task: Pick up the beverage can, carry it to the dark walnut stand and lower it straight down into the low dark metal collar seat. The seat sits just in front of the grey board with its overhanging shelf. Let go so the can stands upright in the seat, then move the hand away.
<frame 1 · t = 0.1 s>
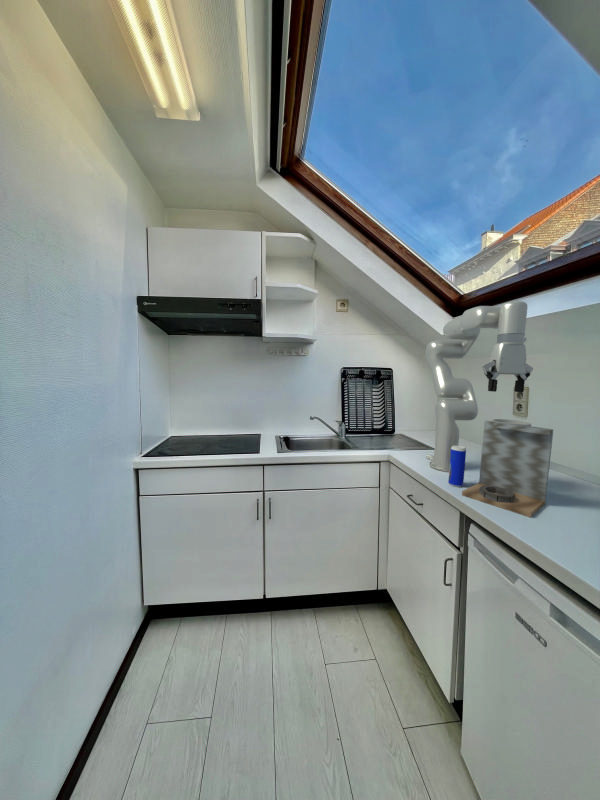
hand: (505, 391, 102), 37 cm above the countertop, tool pointing down, fingers open, 9 cm apart
cylinder vase: (504, 484, 119), on the countertop
seat stand: (502, 499, 104), on the countertop
beverage can: (455, 485, 117), on the countertop
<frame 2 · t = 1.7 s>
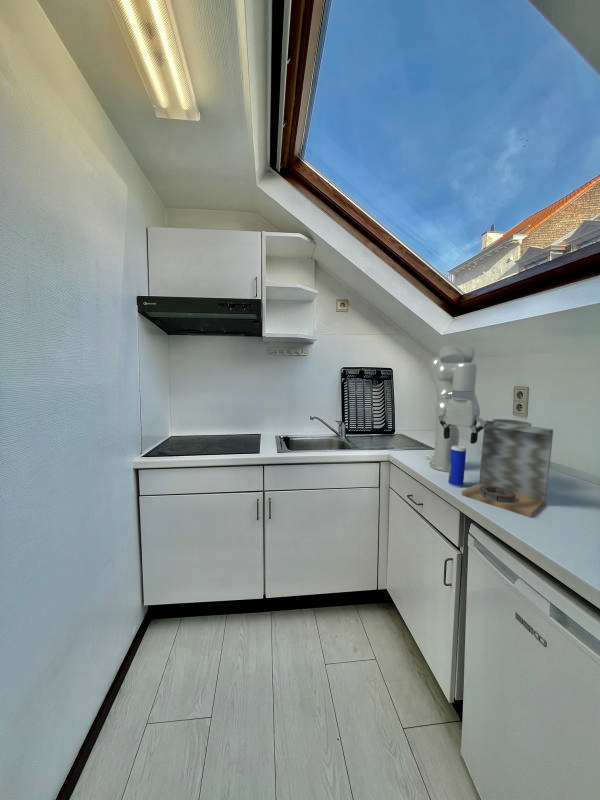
hand: (459, 440, 115), 17 cm above the countertop, tool pointing down, fingers open, 9 cm apart
nothing on the countertop moved.
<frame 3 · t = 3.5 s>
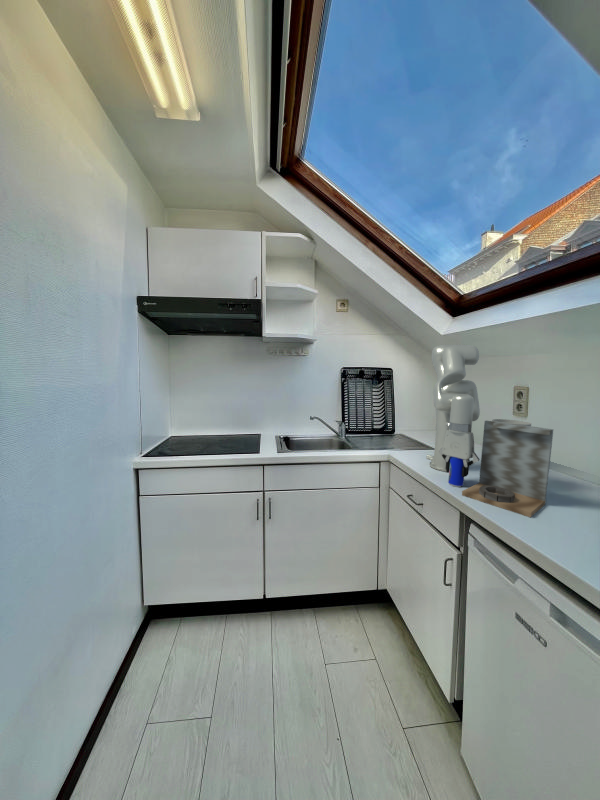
hand: (456, 473, 116), 4 cm above the countertop, tool pointing down, fingers closed on beverage can, 5 cm apart
beverage can: (455, 485, 117), on the countertop, touching gripper
everything else where it was.
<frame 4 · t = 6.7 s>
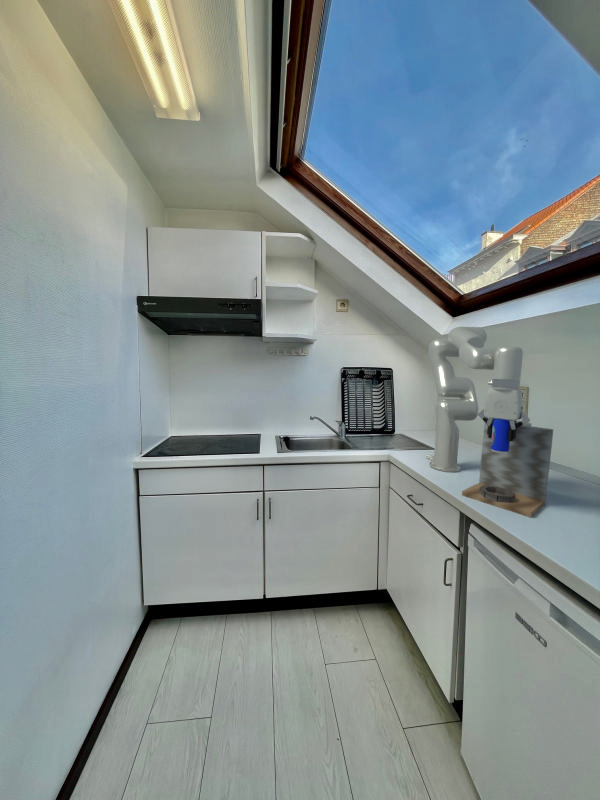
hand: (500, 438, 101), 21 cm above the countertop, tool pointing down, fingers closed on beverage can, 5 cm apart
beverage can: (499, 452, 102), point 17 cm above the countertop, touching gripper
everything else where it was.
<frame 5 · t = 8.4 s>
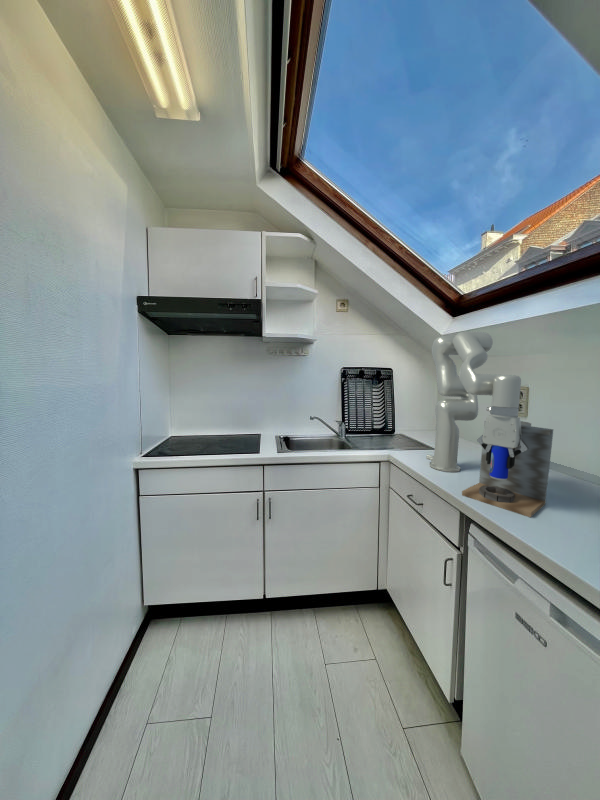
hand: (499, 465, 102), 12 cm above the countertop, tool pointing down, fingers closed on beverage can, 5 cm apart
beverage can: (498, 478, 102), point 8 cm above the countertop, touching gripper
everything else where it was.
when the fingers open (7 cm above the countertop, at t = 9.9 s): beverage can stays where it is, resting on seat stand.
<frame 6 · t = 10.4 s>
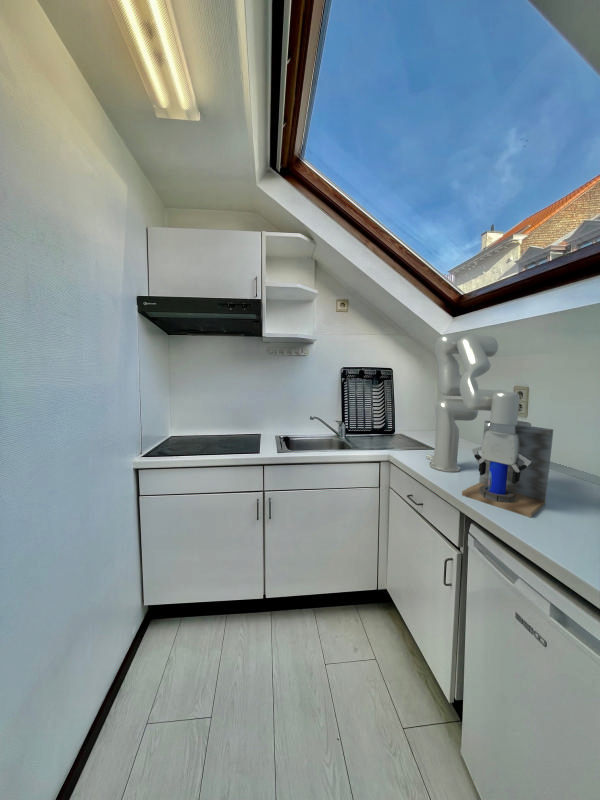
hand: (497, 478, 102), 8 cm above the countertop, tool pointing down, fingers open, 9 cm apart
beverage can: (495, 496, 103), point 1 cm above the countertop, touching seat stand
everything else where it was.
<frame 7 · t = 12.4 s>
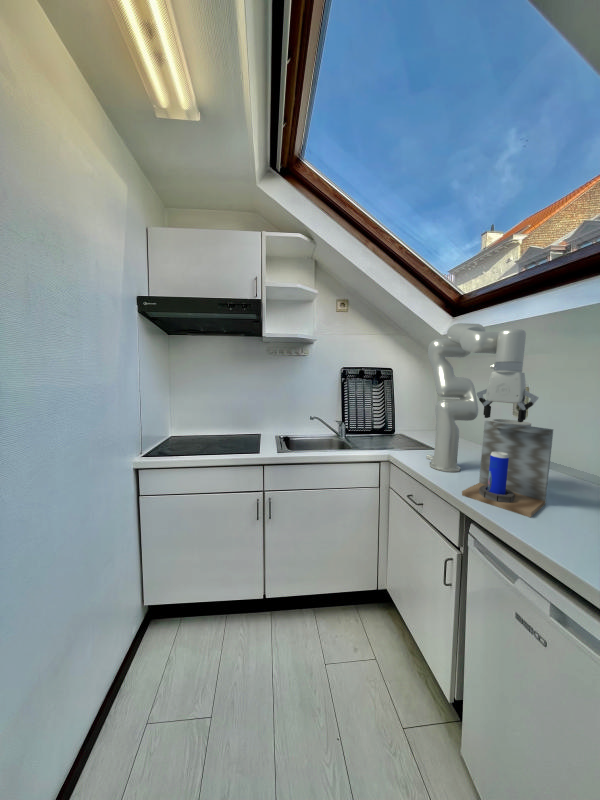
hand: (503, 419, 100), 28 cm above the countertop, tool pointing down, fingers open, 9 cm apart
nothing on the countertop moved.
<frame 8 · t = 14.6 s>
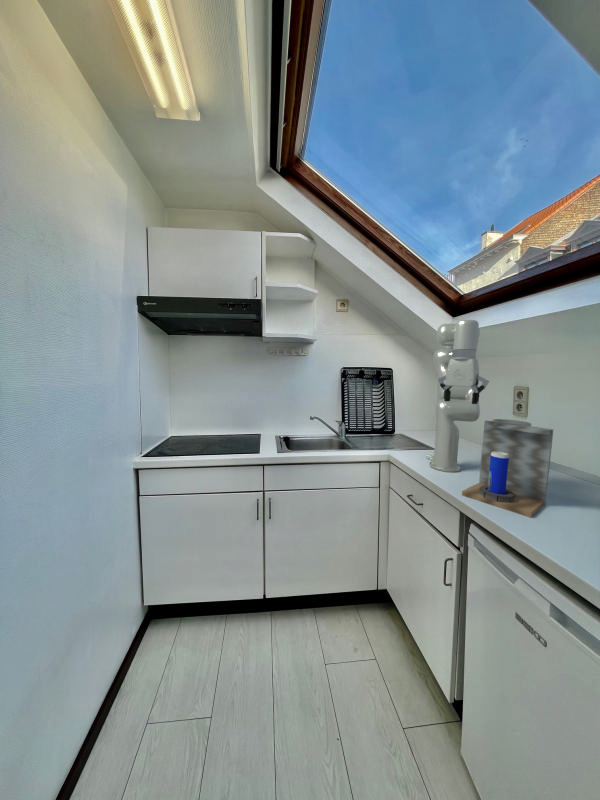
hand: (460, 402, 110), 32 cm above the countertop, tool pointing down, fingers open, 9 cm apart
nothing on the countertop moved.
at the end: beverage can 0.2 cm from the target spot on the seat stand, point 1.3 cm above the seat stand's base; beverage can tilted 0°; the gripper is holding nothing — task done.
